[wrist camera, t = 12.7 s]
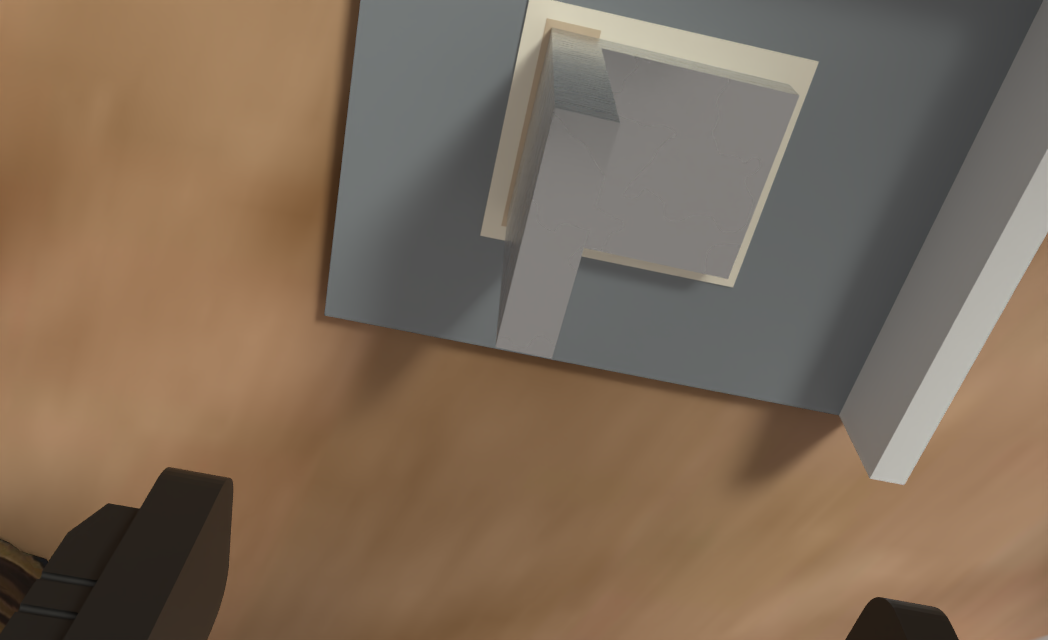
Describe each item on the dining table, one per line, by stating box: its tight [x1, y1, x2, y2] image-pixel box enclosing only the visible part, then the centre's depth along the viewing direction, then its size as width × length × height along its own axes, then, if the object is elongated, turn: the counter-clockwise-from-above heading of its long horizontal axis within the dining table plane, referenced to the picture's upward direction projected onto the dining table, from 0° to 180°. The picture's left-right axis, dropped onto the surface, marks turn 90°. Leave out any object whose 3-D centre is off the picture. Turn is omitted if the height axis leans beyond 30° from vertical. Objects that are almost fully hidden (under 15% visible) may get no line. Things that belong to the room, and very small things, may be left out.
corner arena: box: [324, 0, 1048, 485], centre depth 25 cm, size 18×20×4 cm
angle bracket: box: [496, 27, 799, 359], centre depth 23 cm, size 7×6×8 cm
